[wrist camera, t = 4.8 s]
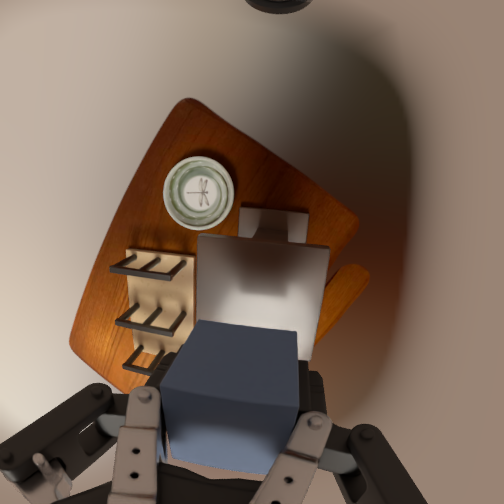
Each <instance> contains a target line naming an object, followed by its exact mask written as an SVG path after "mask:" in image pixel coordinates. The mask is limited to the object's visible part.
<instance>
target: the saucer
mask: <svg viewBox="0 0 504 504" xmlns="http://www.w3.org/2000/svg"><path fill="white" fill-rule="evenodd" d="M163 198H164V203H165V206H166V209H167V211H168V212H169V214H170V215H171V217H172V218H173V219H174V220H175V221H176V222H177V223H179V224H180V225H182V226H184V227H186V228H189V229H193V230H205V229H209V228H212V227H214V226H216V225H218V224H219V223H220V222H222V221H223V220H224V219H225V217H226V216H227V215H228V213H229V212H230V210H231V208H232V205H233V201H234V186H233V182H232V179H231V177H230V175H229V173H228V172H227V170H226V169H225V168H224V167H223V166H222V165H221V164H220V163H218V162H217V161H215V160H213V159H211V158H208V157H203V156H195V157H190V158H187V159H184V160H182V161H180V162H179V163H178V164H176V165H175V166H174V167H173V168H172V169H171V171H170V172H169V174H168V176H167V178H166V180H165V183H164V189H163Z"/></svg>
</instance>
